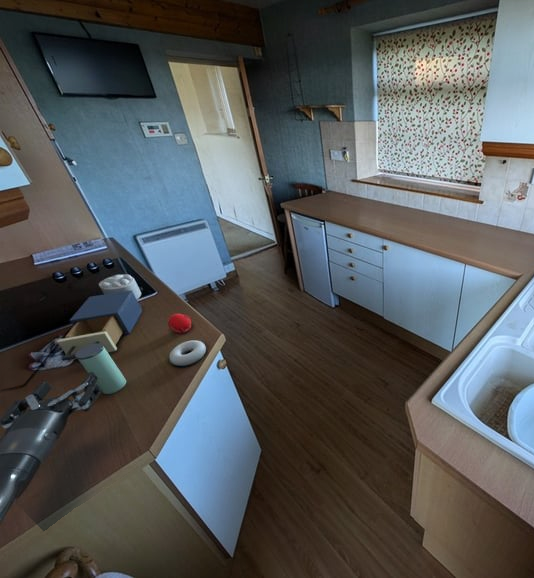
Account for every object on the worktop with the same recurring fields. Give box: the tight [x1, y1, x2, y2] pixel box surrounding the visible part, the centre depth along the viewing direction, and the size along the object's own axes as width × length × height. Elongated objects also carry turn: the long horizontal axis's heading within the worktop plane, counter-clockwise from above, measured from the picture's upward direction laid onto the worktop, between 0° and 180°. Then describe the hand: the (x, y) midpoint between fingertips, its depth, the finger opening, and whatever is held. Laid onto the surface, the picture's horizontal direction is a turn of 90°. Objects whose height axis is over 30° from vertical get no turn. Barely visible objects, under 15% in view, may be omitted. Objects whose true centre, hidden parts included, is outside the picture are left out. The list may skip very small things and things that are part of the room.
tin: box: [75, 343, 127, 395], centre depth 80 cm, size 6×6×14 cm
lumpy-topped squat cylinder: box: [98, 273, 142, 300], centre depth 120 cm, size 10×13×9 cm
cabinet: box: [69, 291, 143, 336], centre depth 104 cm, size 15×13×9 cm
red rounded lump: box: [167, 313, 192, 334], centre depth 104 cm, size 8×6×6 cm
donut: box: [169, 339, 207, 367], centre depth 93 cm, size 10×4×10 cm
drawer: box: [56, 315, 124, 361], centre depth 94 cm, size 19×12×7 cm, turn 21°
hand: (70, 379), depth 68 cm, fingers open, 8 cm apart
